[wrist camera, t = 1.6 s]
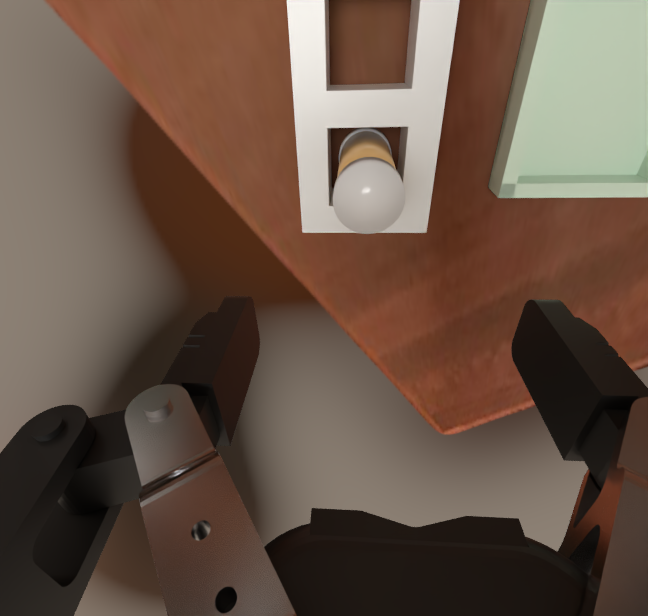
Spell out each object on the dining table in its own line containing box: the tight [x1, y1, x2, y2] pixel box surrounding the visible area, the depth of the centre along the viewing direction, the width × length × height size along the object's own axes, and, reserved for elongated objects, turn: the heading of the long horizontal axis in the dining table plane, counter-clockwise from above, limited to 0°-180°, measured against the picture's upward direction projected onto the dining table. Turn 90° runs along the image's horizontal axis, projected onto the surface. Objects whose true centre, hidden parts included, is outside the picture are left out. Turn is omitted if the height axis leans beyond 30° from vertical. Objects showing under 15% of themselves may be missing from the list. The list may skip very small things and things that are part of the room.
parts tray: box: [488, 0, 648, 198], centre depth 23 cm, size 14×11×2 cm
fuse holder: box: [287, 0, 460, 233], centre depth 24 cm, size 16×9×4 cm, turn 2°
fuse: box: [333, 127, 405, 234], centre depth 23 cm, size 4×4×10 cm
